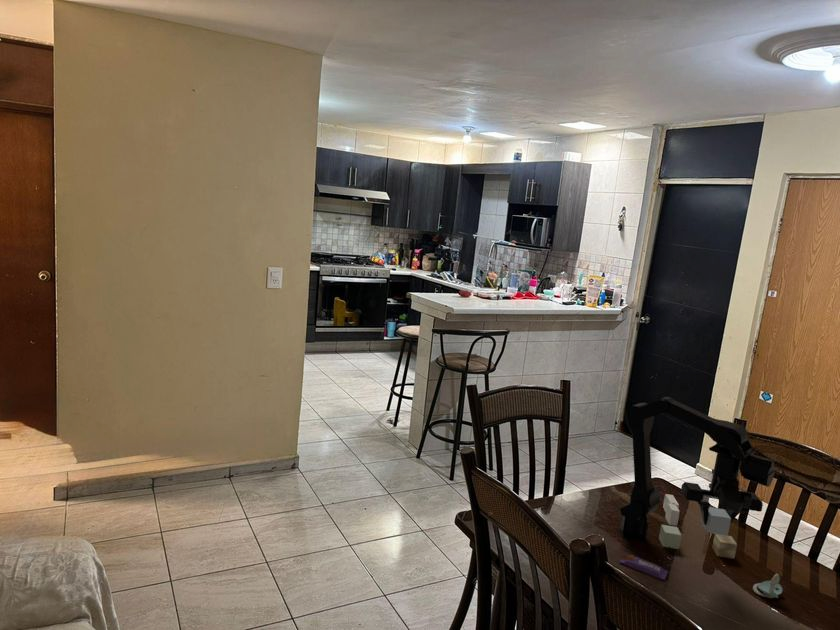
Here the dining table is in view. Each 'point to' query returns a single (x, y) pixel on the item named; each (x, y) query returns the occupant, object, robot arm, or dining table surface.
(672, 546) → the sage block
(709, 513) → the blue block
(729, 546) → the birch block
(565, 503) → the dining table surface
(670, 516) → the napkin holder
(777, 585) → the pacifier
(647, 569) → the snack package
